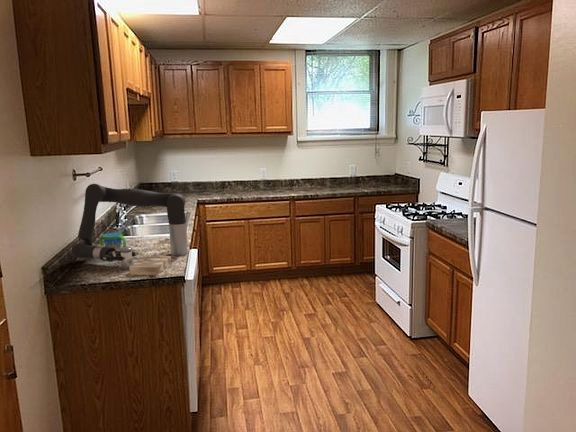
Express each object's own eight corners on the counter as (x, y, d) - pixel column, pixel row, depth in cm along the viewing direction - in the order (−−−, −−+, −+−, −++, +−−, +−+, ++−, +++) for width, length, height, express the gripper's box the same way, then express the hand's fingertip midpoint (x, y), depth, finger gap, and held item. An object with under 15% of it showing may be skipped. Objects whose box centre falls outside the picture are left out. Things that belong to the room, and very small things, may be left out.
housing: (124, 266, 233) (122, 247, 231) (135, 266, 232) (133, 247, 230) (119, 269, 227) (117, 250, 225) (130, 269, 227) (129, 250, 225)
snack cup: (131, 251, 263) (129, 233, 261) (118, 255, 253) (116, 237, 251) (110, 248, 269) (108, 232, 267) (96, 253, 259) (94, 235, 257)
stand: (144, 263, 236) (143, 255, 235) (171, 263, 235) (170, 255, 234) (130, 274, 218) (129, 265, 218) (158, 274, 217) (158, 265, 216)
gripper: (92, 249, 228) (117, 252, 221) (114, 243, 240) (138, 245, 234) (94, 264, 229) (118, 267, 222) (115, 257, 242) (139, 260, 235)
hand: (128, 256), depth 228 cm, fingers open, 8 cm apart
